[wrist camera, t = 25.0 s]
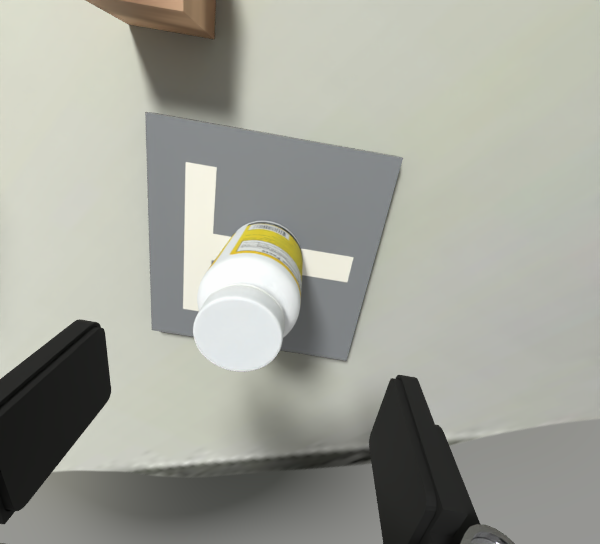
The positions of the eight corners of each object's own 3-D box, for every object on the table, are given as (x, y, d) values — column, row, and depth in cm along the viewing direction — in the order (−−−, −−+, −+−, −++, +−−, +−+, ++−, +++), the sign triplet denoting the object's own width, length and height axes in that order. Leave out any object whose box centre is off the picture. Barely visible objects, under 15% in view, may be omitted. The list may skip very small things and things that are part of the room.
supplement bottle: (252, 300, 25) (217, 398, 16) (213, 239, 23) (148, 311, 14) (316, 272, 23) (318, 360, 14) (281, 205, 22) (258, 259, 13)
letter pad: (399, 156, 21) (403, 157, 20) (345, 352, 28) (346, 360, 27) (152, 112, 21) (145, 111, 20) (157, 323, 27) (151, 330, 26)
